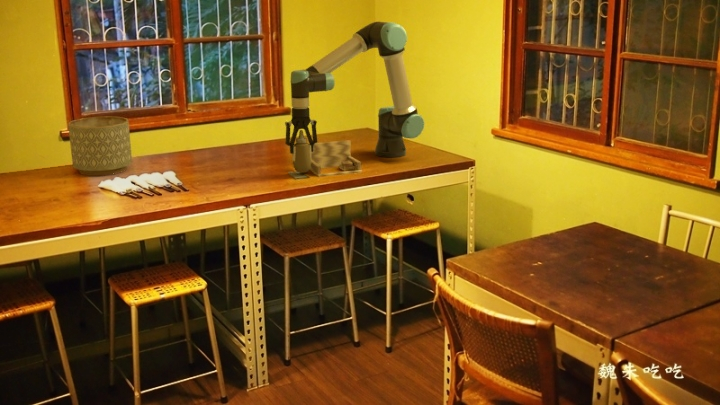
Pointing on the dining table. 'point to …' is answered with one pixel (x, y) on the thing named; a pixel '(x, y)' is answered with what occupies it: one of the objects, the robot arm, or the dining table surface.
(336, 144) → the rack
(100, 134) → the planter
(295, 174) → the mat
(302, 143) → the squeeze bottle
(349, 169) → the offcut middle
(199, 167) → the dining table surface
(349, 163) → the offcut top
